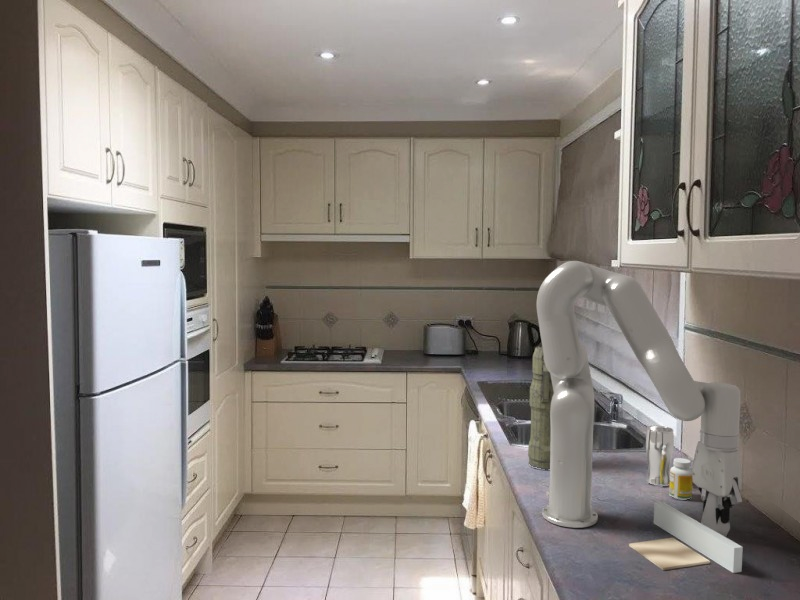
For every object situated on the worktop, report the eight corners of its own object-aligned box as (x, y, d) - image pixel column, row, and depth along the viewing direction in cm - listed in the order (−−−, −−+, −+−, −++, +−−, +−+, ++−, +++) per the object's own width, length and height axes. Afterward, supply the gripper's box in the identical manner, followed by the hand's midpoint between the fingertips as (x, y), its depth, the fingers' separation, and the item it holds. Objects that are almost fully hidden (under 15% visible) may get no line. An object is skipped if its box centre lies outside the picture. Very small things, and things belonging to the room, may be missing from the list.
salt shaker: (716, 542, 140) (718, 483, 139) (694, 532, 145) (696, 475, 144) (735, 538, 142) (738, 480, 141) (713, 528, 147) (715, 471, 147)
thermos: (531, 472, 184) (533, 349, 182) (525, 458, 196) (528, 343, 193) (562, 472, 184) (565, 349, 181) (555, 459, 195) (558, 343, 193)
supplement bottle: (665, 496, 166) (666, 459, 166) (675, 491, 170) (676, 455, 169) (686, 502, 162) (687, 465, 161) (695, 497, 166) (697, 460, 165)
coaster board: (629, 545, 138) (629, 543, 138) (673, 539, 141) (673, 537, 141) (663, 570, 128) (663, 567, 128) (709, 563, 131) (710, 560, 131)
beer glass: (659, 477, 180) (661, 424, 179) (678, 486, 174) (680, 431, 173) (638, 480, 178) (640, 426, 177) (656, 489, 171) (658, 433, 170)
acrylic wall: (653, 523, 150) (654, 502, 150) (661, 522, 150) (661, 501, 150) (733, 573, 127) (734, 548, 126) (741, 571, 127) (742, 546, 127)
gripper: (679, 431, 149) (676, 509, 150) (733, 452, 133) (729, 539, 135) (706, 428, 151) (703, 506, 152) (763, 449, 135) (759, 535, 137)
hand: (715, 521), depth 143 cm, fingers closed on salt shaker, 3 cm apart
